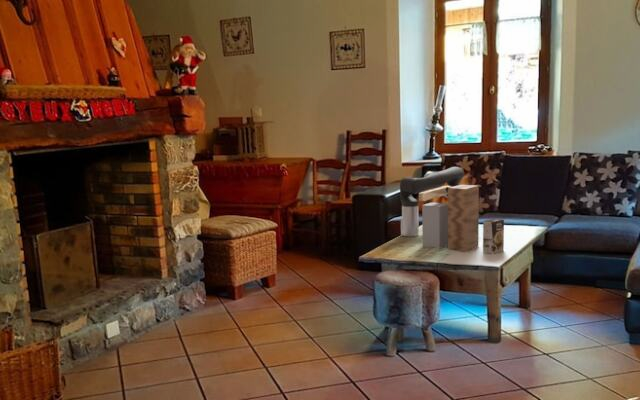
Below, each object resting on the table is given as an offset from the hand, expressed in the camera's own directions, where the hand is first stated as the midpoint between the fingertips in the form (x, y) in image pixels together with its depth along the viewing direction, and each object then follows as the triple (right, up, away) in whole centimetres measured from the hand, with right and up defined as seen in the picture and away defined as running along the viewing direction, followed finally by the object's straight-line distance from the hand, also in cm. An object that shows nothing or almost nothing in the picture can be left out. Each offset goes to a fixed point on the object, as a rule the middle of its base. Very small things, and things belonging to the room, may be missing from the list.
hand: (443, 188), depth 327 cm
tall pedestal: (+8, -31, -10) cm, 34 cm away
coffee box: (+21, -32, -19) cm, 43 cm away
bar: (-5, -5, -6) cm, 9 cm away
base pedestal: (-4, -30, -2) cm, 31 cm away
